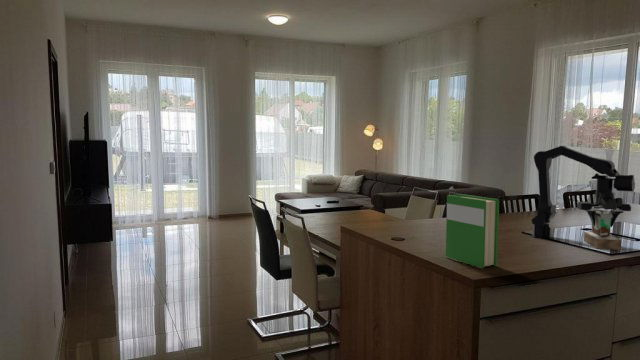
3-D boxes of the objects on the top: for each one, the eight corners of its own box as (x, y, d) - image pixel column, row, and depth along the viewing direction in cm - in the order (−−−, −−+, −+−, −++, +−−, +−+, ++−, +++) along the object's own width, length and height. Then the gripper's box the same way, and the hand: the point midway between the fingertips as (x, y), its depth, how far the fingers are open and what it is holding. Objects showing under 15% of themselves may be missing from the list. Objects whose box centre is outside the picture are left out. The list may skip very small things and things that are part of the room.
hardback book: (497, 266, 160) (499, 199, 158) (482, 269, 156) (484, 200, 154) (460, 255, 175) (461, 194, 173) (445, 257, 172) (447, 195, 170)
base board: (596, 248, 186) (596, 238, 185) (583, 241, 200) (584, 231, 200) (620, 249, 184) (621, 239, 183) (606, 241, 198) (606, 232, 198)
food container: (618, 237, 185) (617, 213, 185) (602, 237, 187) (601, 214, 186) (606, 231, 197) (605, 208, 196) (591, 232, 199) (590, 209, 198)
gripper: (586, 191, 184) (584, 229, 186) (638, 192, 180) (636, 231, 181) (577, 188, 195) (575, 224, 196) (626, 189, 191) (624, 226, 192)
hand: (602, 226), depth 191 cm, fingers open, 6 cm apart
